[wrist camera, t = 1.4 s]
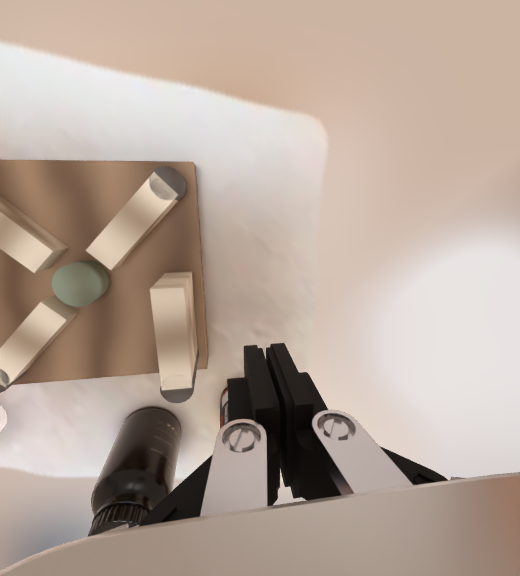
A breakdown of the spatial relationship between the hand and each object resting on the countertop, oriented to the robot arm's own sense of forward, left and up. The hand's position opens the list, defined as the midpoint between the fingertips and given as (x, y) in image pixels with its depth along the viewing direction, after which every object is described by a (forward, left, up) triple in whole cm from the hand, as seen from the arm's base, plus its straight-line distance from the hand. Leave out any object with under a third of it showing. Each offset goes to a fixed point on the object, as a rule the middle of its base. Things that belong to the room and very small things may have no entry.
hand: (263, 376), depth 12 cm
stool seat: (-14, +1, -19) cm, 23 cm away
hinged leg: (-6, -3, -16) cm, 18 cm away
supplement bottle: (-11, -18, -19) cm, 28 cm away
